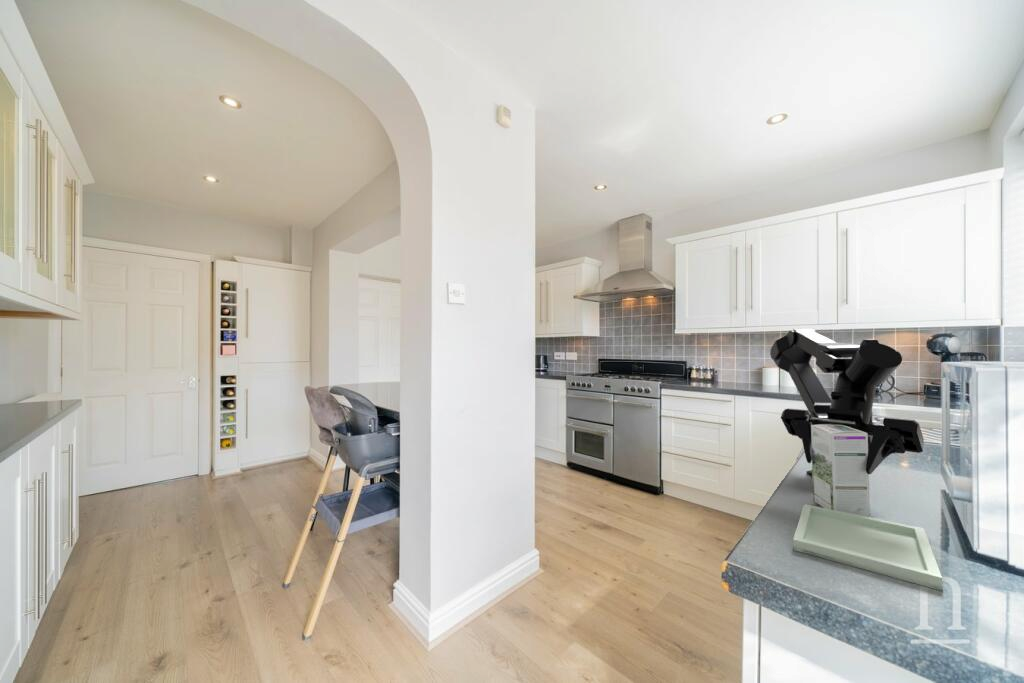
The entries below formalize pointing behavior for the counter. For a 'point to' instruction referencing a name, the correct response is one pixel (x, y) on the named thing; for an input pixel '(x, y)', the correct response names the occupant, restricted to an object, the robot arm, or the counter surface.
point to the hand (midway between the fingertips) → (836, 467)
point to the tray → (868, 544)
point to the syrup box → (840, 468)
